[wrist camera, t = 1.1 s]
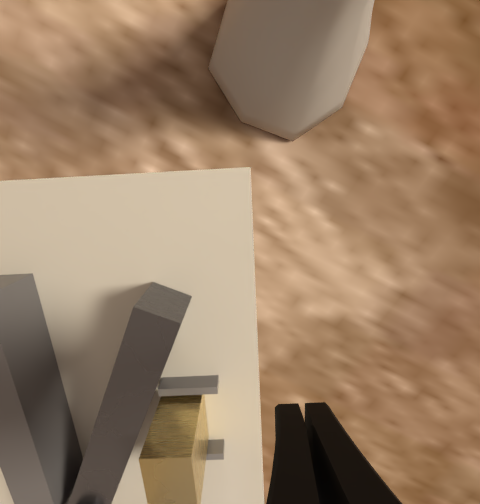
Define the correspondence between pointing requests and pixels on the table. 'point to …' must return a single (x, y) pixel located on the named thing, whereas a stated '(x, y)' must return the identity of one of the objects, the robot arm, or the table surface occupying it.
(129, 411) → the block
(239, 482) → the hearth board
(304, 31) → the flask
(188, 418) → the block
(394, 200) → the table surface
